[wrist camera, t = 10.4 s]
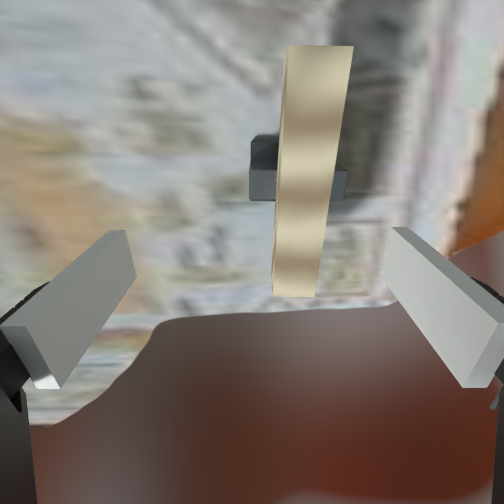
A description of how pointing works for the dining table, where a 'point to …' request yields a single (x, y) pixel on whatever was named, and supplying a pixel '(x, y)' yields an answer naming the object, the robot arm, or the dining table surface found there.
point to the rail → (266, 173)
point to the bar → (306, 161)
